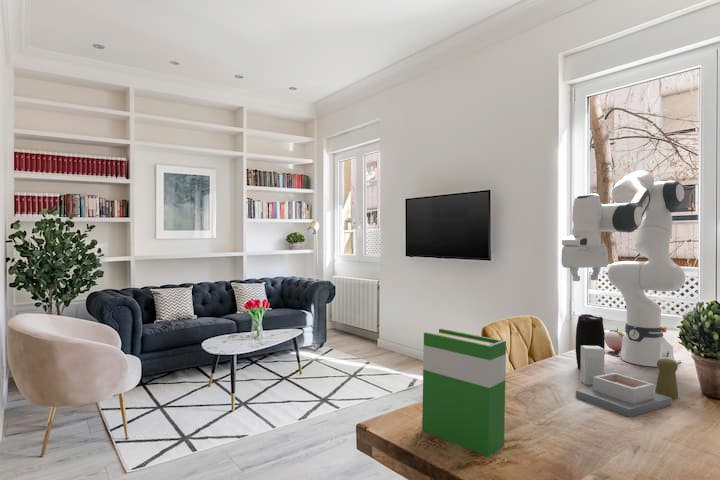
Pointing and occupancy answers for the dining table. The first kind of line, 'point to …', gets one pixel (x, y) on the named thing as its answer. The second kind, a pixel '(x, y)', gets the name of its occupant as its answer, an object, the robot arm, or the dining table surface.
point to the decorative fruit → (614, 340)
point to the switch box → (623, 394)
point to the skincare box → (591, 363)
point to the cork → (667, 378)
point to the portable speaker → (589, 334)
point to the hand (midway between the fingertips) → (585, 280)
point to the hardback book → (464, 389)
